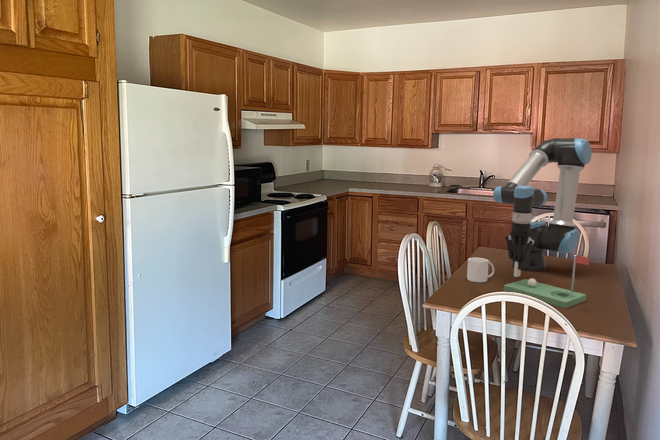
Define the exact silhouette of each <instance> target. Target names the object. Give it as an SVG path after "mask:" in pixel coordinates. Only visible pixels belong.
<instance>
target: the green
mask: <svg viewBox="0 0 660 440" xmlns="http://www.w3.org/2000/svg"><path fill="white" fill-rule="evenodd" d="M528 280H529V279H527V278H524V279H521V280H520V279H519V280H518V281H514V282H511V283H507V284H504V285H503V291H504V292H506V291H511V292H518V293H524V294H527V295H530V296H534V297H536V298H539V299H541V300H543V301H545V302H547V303H546V304H548V303H549V304H548V305H552V306H555V307H559V308H562V309H568V308H571V307H573V306H576V305H579V304H581V303H583V302H586V300H587V294H585V293H581V292H576V291H574V290H573V292H571V289H570V290H569V289H566V288H562V287H558V286H553V285H549V284H546V283H541V282H538V281H536V282H537V283H536V285H535V286H534V287H531V286H529V285H528Z"/></svg>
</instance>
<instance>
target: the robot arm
mask: <svg viewBox="0 0 660 440" xmlns="http://www.w3.org/2000/svg"><path fill="white" fill-rule="evenodd" d="M591 159H592V147H591V144H590V142H589V140H588V139H586V138H577V137H576V138H575V137H572V138H571V137H570V138H569V137H568V138H565V137H564V138H563V137H560V138H557V137H556V138H555V137H554V138H549V139H547V140H545V141H543V142H542V143H540V144H538V145H537V146H535V147H534V148H533V149H532V150H531V151H530V153H529V154H528V158H527V159H526V160H525V162H523V164H522V165H521V166H520V167H519V168H518V170H517V171H516V172H515V173H514V175H513V176H512V177H511V178H510V179H509V180H508V182H506V183H505V185H504V186H503V185H499V186H496V187H495V188H494V190H493V193H492V196H493V200H494V202H496V203H499V204H500V203H501V204H506V205H512V217H511V221H512V223H511V232H510V234H509V235H506V236H505V237H504V238H505V241H506V244H507V245H506V246H507V252H508V258H509V259H510V260H512V269H513V277H515V278H518V277H521V274H522V273H521V272H522V271H527V272H529V271H530V272H542V271H545V270H547V269H546V268H547V263H546V260H545V255H544V250H545V251H551V252H555V253H560V254H561V253H562V254H570V253H572V252H573V251H574V250H575V249H576V248H577V245H578V243H579V239H580V235H579V234H580V233H579V230H577V229H576V224H575V223H574V215H575V214H574V213H575V207H576V200H577V195H578V188H579V182H580V181H579V180H580V175H581V171H582V170H584V169H585V166H586V165H588V164H589V163H590V162H591ZM550 163H551V164H552V163H557V165H556V167H557V168H558V169H559V176H558V182H557V188H556V189H557V190H556V196H555V197H556V198H555V203H554V210H553V217H552V220H551V221H549V222H548V225H547V223H546V222H545V221H532V213H533V212H532V210H533V208H537V207H541V206H544V205H545V204H546V203H547V201H548V194H547V192H546V191H545V190H544V189H542V188H535V189H534V187H533V186H531V185H528V184H529V183H530V182H531V181H532V180H533V179H534V177H535V176H536V175H537V174H538V173H539V171H540V170H541V169H542V168H544V167H546V166H547V165H548V164H550ZM521 270H522V271H521Z"/></svg>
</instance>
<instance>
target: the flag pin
mask: <svg viewBox="0 0 660 440" xmlns="http://www.w3.org/2000/svg"><path fill="white" fill-rule="evenodd" d="M589 260H590V257H587V256H582V255H577V254H574V255H573V263H572V264H573V265H572V277H571V285H570V291H571V292H573V291H574V285H575V274H576V273H575V272H576V264H580V265H586V266H589V262H590V261H589Z"/></svg>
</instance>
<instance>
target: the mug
mask: <svg viewBox="0 0 660 440" xmlns="http://www.w3.org/2000/svg"><path fill="white" fill-rule="evenodd" d="M489 266H490V267H491V269H492V271H491V273H490V274H489ZM466 269H467V272H466V279H467V281H468V282H471V283H486V282H487V281H488V279H489V278H491V277H492V276H493V275H494V274H495V267H494V265H493V263H492V262H491V261H490V260H489V259H487V258H484V257H483V258H482V257H469V258H468V259H467V268H466Z"/></svg>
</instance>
